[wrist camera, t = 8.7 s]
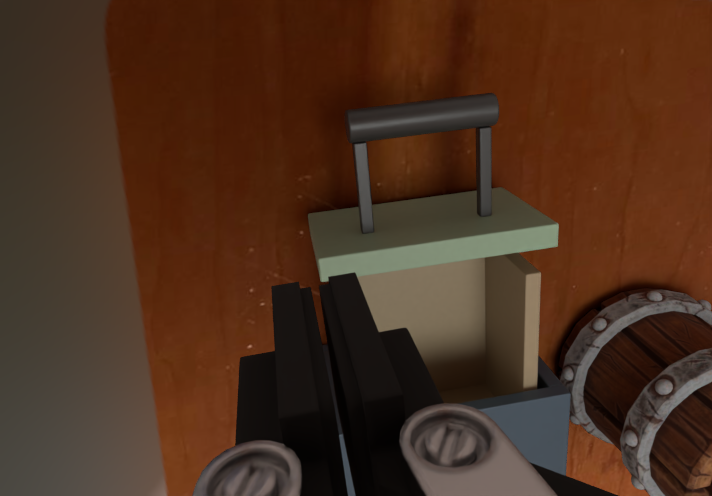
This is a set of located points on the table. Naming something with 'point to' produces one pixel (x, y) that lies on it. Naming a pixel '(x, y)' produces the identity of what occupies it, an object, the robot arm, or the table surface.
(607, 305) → the mug
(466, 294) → the drawer
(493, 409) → the cabinet
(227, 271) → the table surface
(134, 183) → the table surface
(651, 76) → the table surface
